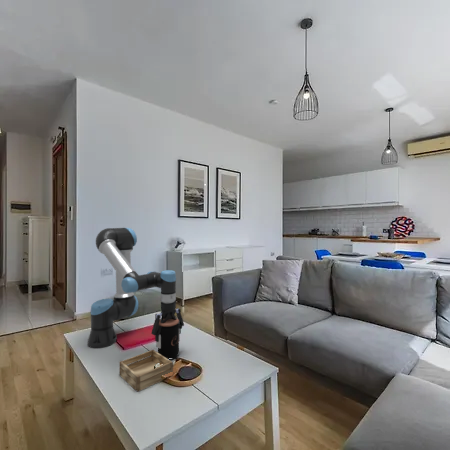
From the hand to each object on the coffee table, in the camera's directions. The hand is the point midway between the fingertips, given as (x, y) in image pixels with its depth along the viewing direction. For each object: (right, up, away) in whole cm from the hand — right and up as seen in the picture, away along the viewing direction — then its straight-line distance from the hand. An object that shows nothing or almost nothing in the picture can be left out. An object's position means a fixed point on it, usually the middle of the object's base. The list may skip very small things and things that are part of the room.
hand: (168, 343), depth 142 cm
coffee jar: (0, -6, 0) cm, 6 cm away
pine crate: (-6, -7, -18) cm, 20 cm away
